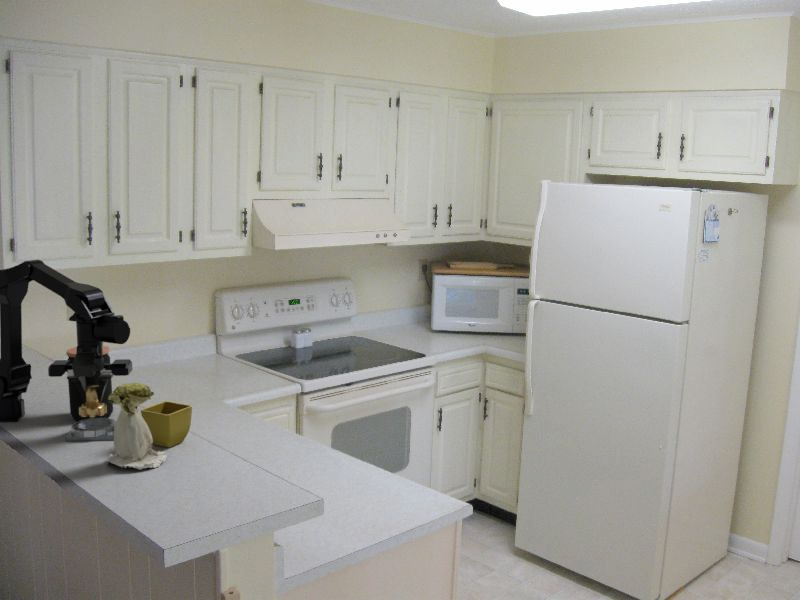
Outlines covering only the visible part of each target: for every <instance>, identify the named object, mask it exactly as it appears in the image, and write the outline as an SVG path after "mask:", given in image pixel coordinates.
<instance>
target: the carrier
mask: <svg viewBox="0 0 800 600" xmlns="http://www.w3.org/2000/svg"><path fill="white" fill-rule="evenodd" d="M116 421H117V420H115V419H114V418H110V417H108V418H90V419H84V420H80V421H75V422H74V423H72V424H71V426H70V431H69V433H67V435H66V437H65V440H66V442H90V441H91V442H92V441H93V442H94V441H95V442H96V441H114V427H115V424H116Z"/></svg>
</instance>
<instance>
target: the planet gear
mask: <svg viewBox="0 0 800 600" xmlns="http://www.w3.org/2000/svg"><path fill="white" fill-rule="evenodd" d="M98 394H99V385H95V384H92V385H87V386H85V398H86V404H82V406H79V415H81V417H96V416H103V415H104V413H107V405H105V403H100V402H99V398H98Z"/></svg>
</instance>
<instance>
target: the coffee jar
mask: <svg viewBox="0 0 800 600" xmlns="http://www.w3.org/2000/svg"><path fill="white" fill-rule="evenodd" d="M76 349H77V346H75V347H72V348H69V349H66V351H65V352H66V356H67V357H68V358H67V359H66V360H70V361H71V364H72V363H73V361H74V358H75V356H76V353H77V351H76ZM102 349H103V358H104V364H111V357H110V355H109V353H110V347H108V346H106V345H103V346H102ZM100 375H101V371H96V372H95V375H94V376H92V377H87V376H85V382H86V386H87V385H92V384H95V385H99V379H98V377H99V376H100ZM67 382H68V396H69V397H68V398H69V399H68V400H69V412H70V416H71V417H72V419H73V420H75V421H76V422H78V421H80V420H84V419H90V418H110V417H111V416H112V414H113V411H114V404H112V403H111V402H109V400H108V397H109V395H110V394H111V393H113V387H112V385H113V384H112V378H111V379H109V380H108V383H107V385H106V388H105V391H104V394H103V397H102V401H101V402H100V403H105V405H107V413H104V415H103V416H96V417H81V415H79V406H82V404H86V402H84V401H83V399H82V397H81V395H80V392H79V390H78V388H77V386H76V385H75V383H74V382H73V381H72V380H68V379H67Z"/></svg>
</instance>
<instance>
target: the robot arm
mask: <svg viewBox="0 0 800 600" xmlns="http://www.w3.org/2000/svg"><path fill="white" fill-rule="evenodd" d="M33 281H34V282H36V283H37V284H39V285H41V286H43V287H44V288H46V289H47V290H49V291H51V292H53V293H55V294H56V295H58V296H60V297H61V299H63V300H64V303H65V305H66V306H67V307H68V308H69V309H70V310H72V311H73V314H72V315H71V316H70V317H69V318H68V320H69V321H70V322H76V323H75V325H76V326H75V327H76V347H77V349H76V351H77V353H76V356H75V358H74V361H73V363H72V364H71V361H70V360H67V359H65V360H63V359H61V360H59V359H56V360H54V361H53V362H52V363H51V364H50V365H49V366H48V371H47V373H48V377H50V378H52V377H56V378H57V377H59V378H60V377H62V376H63V375H65V374H66V373H67V376H66V380H67V381H68V380H72V381H73V382H74V383H75V385H76V386H77V388H78V390H79V392H80V395H81V397H82V399H83V401H84V402H86V398H85V386H86V382H85V376H87V377H92V376H94V375H95V372H96V371H101V375H100V376H99V377H98V379H99V394H98V398H99V402H101V401H102V397H103V394H104V391H105V388H106V385H107V383H108V380H109V379H111V380H112V378H113V377H114V376H116V377H119V376H122V377H123V376H125V377H126V376H129V375H130V374H131V372H133V362H132V360H131V359H130V358H128V359H123V358H122V359H115V360H113V362H112V363H110V364H104V358H103V349H102V346H104V343H109V344H118V345H123V344H126V343H127V342H128V340H129V338H130V336H131V327H130V326H129V323H128V322H127V321H126V320H124V315H123V314H122V315H120V314H118V315H117V314H116V315H115V312H114V309H113V308H112V306H111V305H110V303H109V302H108V300H107V299H106V296H105V295H104V291H103V290H102V289H100V288H98V287H97V286H93V285H90V284H88V283H80V282H76V281H74V280H72V279H71V278H69V277H67V276H66V275H64V274H62V273H61V272H59V271H57V270H55V268H54V269H53V268H52V267H50V266H48V265H47V264H45V262H44V261H42V260H40V259H33V260H31V259H30V260H25V261H23V262H21V263H19V264H17V265H14V266H11V267H9V268H2V269H0V422H4V423H5V422H18V421H20V419H22V418H23V416H25V415H26V411H25V409H26V407H25V399H23V396H22V394H23V393H24V394H25V393H27V391H28V387H29V384H30V383H31V382H30V381H31V379H33V377H32V374H31V372H32V365H31V364H30V363H27V362H26V361H25V359H24V358H23V343H22V342H23V337H22V336H23V331H22V328H23V327H22V322H23V320H22V317H23V315H22V314H23V313H22V303H23V301H24V299H25V297H26V295H27V293H28V291H29V283H30V282H33Z"/></svg>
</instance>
